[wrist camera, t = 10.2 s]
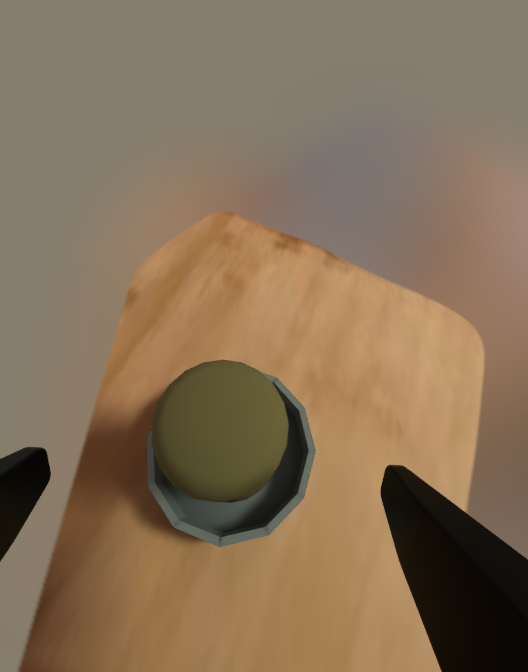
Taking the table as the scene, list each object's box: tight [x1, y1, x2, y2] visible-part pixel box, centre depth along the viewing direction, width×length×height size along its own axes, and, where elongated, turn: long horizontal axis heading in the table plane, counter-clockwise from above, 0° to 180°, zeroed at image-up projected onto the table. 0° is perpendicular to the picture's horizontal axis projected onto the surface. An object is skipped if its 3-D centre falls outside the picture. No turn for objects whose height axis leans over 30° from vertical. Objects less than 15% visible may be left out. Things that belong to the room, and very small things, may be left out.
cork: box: [152, 360, 289, 503], centre depth 15 cm, size 6×6×11 cm
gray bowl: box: [147, 372, 316, 547], centre depth 19 cm, size 10×10×2 cm
